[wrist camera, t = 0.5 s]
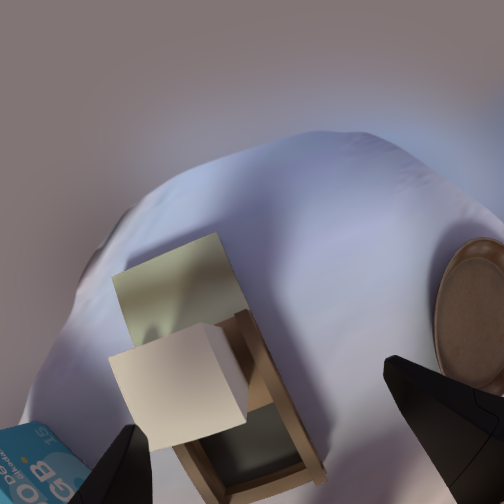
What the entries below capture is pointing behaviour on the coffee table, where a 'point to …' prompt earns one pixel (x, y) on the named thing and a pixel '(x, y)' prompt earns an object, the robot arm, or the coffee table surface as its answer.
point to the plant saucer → (472, 316)
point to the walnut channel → (250, 360)
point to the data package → (37, 467)
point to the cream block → (183, 385)
